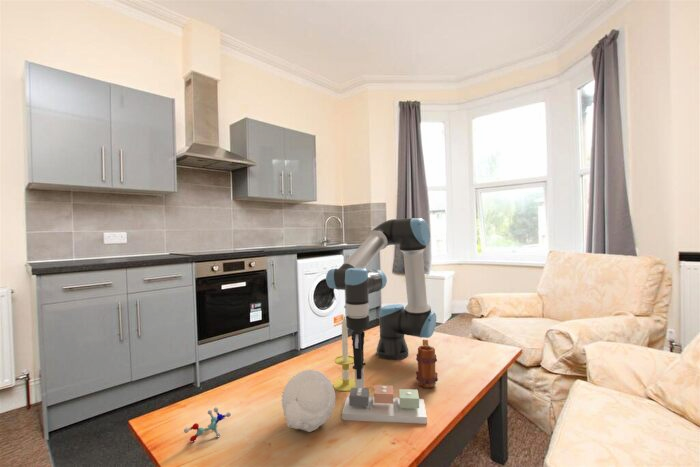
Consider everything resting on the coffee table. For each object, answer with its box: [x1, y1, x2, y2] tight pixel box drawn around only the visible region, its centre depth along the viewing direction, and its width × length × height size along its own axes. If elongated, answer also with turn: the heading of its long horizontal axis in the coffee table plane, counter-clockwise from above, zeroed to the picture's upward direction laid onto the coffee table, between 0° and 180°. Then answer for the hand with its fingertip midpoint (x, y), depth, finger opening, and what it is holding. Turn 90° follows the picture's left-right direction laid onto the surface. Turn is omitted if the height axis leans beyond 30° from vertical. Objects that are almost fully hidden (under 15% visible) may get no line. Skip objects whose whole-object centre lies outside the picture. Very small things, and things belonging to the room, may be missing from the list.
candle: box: [332, 316, 355, 392], centre depth 127 cm, size 10×10×27 cm
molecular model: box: [183, 407, 232, 442], centre depth 96 cm, size 12×10×10 cm
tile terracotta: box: [373, 384, 394, 404], centre depth 107 cm, size 6×6×3 cm
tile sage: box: [398, 388, 420, 408], centre depth 106 cm, size 6×6×3 cm
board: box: [341, 395, 428, 425], centre depth 107 cm, size 11×26×3 cm, turn 83°
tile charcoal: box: [348, 387, 370, 406], centre depth 108 cm, size 6×6×3 cm
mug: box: [415, 339, 439, 389], centre depth 128 cm, size 15×8×15 cm, turn 168°
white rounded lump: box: [281, 369, 336, 433], centre depth 101 cm, size 20×18×16 cm
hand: (359, 386), depth 109 cm, fingers closed
